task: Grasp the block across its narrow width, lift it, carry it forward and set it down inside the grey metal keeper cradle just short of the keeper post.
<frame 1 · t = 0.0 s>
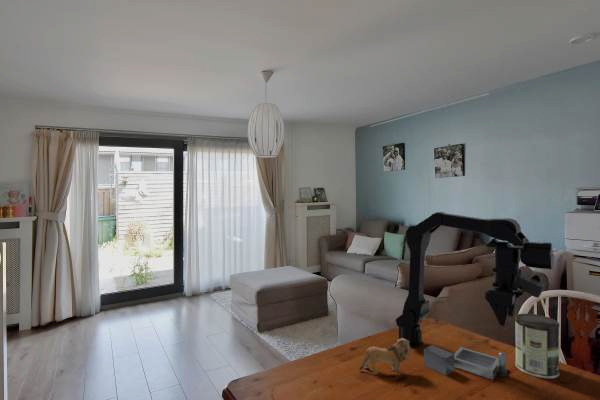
hand: (506, 320, 92), 15 cm above the table, fingers open, 9 cm apart
block: (438, 368, 95), on the table
lion figurine: (386, 371, 95), on the table
coffee can: (536, 369, 94), on the table
keeper cradle: (475, 366, 96), on the table
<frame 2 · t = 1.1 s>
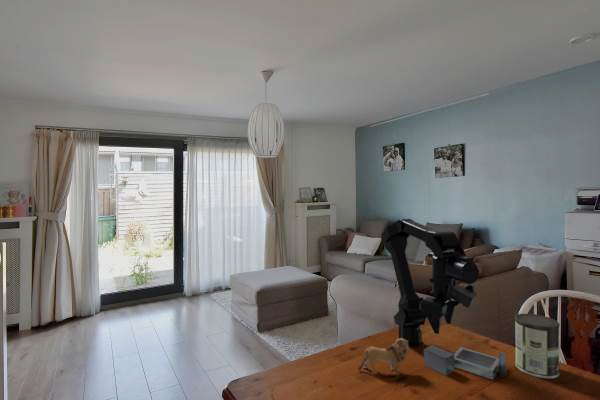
hand: (442, 328, 96), 11 cm above the table, fingers open, 9 cm apart
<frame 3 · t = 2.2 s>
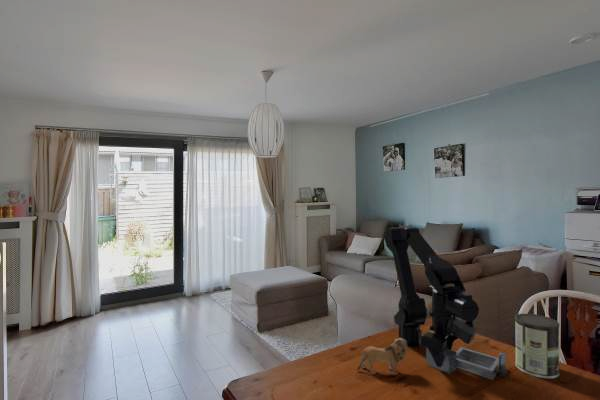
hand: (443, 362, 97), 1 cm above the table, fingers open, 6 cm apart
block: (441, 366, 96), on the table
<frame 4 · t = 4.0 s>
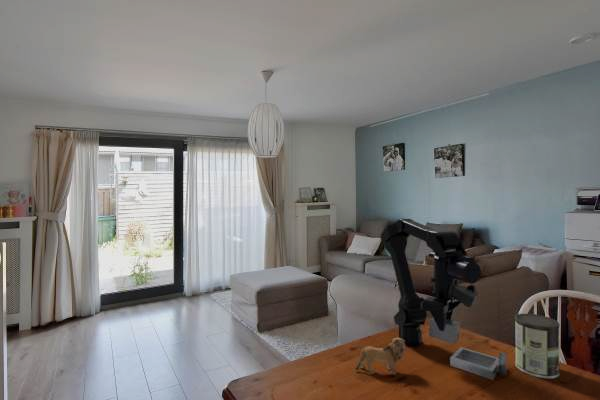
hand: (444, 328, 96), 11 cm above the table, fingers closed on block, 4 cm apart
block: (443, 337, 96), point 8 cm above the table, touching gripper
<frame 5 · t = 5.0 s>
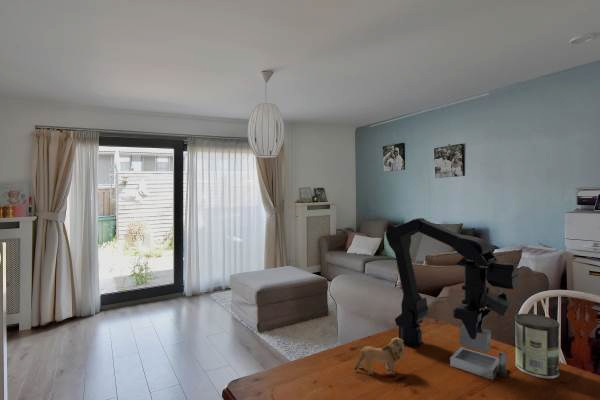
hand: (475, 336, 96), 9 cm above the table, fingers closed on block, 4 cm apart
block: (474, 345, 96), point 6 cm above the table, touching gripper
when the fingers open (4 cm above the table, at t = 6.5 s): block stays where it is, resting on keeper cradle.
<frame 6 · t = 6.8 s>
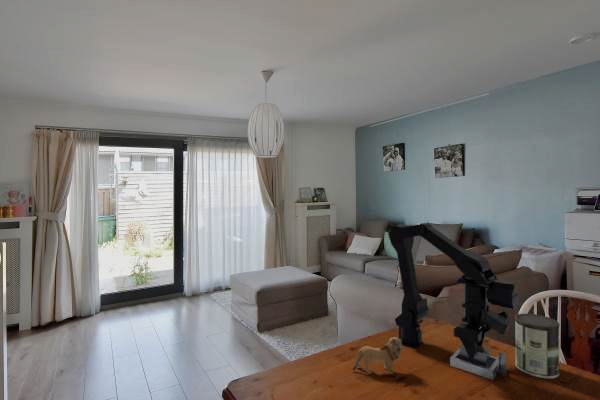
hand: (475, 354, 96), 4 cm above the table, fingers open, 7 cm apart
block: (474, 364, 96), resting on keeper cradle
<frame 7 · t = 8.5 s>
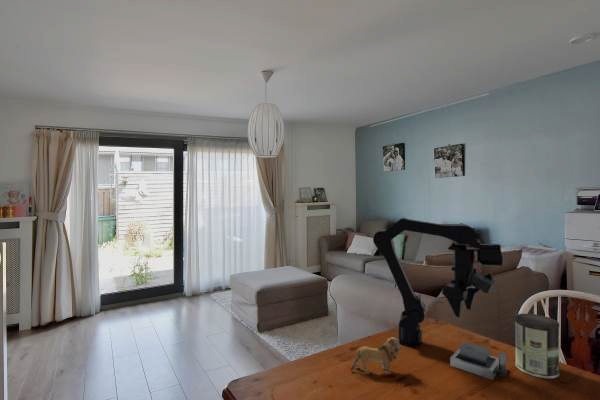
hand: (463, 313, 106), 12 cm above the table, fingers open, 9 cm apart
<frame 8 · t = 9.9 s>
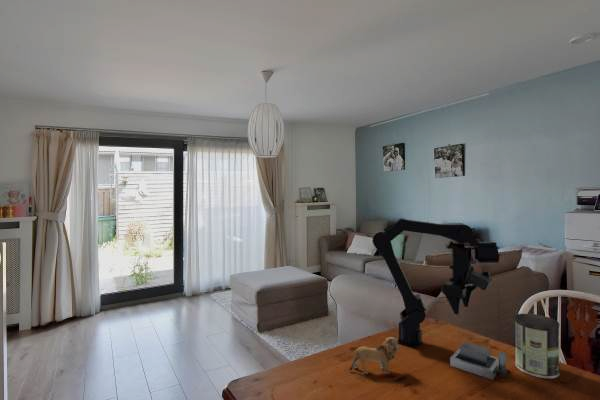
hand: (461, 310, 108), 12 cm above the table, fingers open, 9 cm apart
at the end: block inside the target area on the keeper cradle (0.2 cm from its centre), point 0.4 cm above the keeper cradle's base; the gripper is holding nothing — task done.
